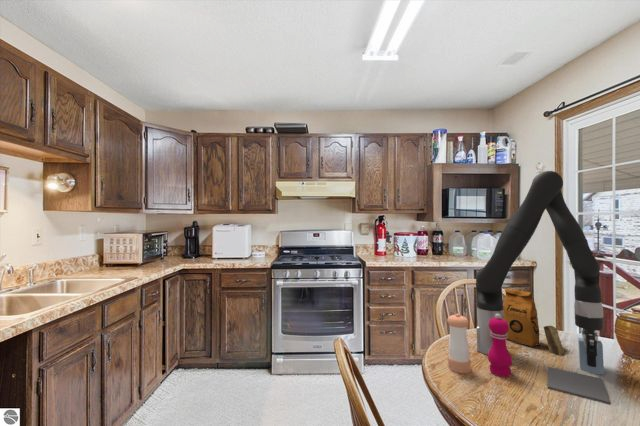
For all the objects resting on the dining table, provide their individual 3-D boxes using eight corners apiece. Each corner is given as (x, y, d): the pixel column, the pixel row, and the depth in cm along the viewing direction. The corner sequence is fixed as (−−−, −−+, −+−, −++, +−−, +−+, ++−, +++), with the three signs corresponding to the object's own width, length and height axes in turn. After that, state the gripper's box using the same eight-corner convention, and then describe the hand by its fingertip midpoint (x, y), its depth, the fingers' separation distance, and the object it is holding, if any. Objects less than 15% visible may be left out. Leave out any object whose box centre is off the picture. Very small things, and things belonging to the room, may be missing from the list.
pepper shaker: (470, 365, 108) (468, 312, 109) (471, 375, 102) (469, 318, 102) (448, 362, 111) (446, 310, 112) (447, 370, 105) (446, 315, 105)
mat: (547, 388, 93) (547, 386, 93) (547, 368, 105) (547, 366, 105) (609, 404, 84) (609, 402, 84) (602, 380, 97) (602, 378, 97)
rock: (549, 336, 128) (532, 336, 125) (563, 324, 124) (545, 323, 121) (571, 361, 119) (552, 361, 117) (586, 348, 115) (568, 348, 112)
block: (580, 369, 104) (579, 340, 104) (579, 365, 107) (578, 337, 107) (604, 374, 100) (602, 344, 101) (602, 370, 103) (600, 340, 104)
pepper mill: (509, 369, 105) (507, 311, 106) (515, 379, 98) (512, 317, 99) (486, 366, 108) (484, 310, 108) (490, 375, 101) (488, 315, 102)
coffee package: (531, 349, 121) (529, 294, 122) (500, 339, 132) (498, 289, 133) (544, 344, 126) (542, 291, 127) (513, 335, 137) (511, 286, 138)
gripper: (573, 307, 112) (575, 353, 112) (575, 316, 101) (578, 368, 100) (600, 310, 108) (603, 359, 107) (606, 321, 96) (609, 375, 96)
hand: (591, 363), depth 104 cm, fingers closed on block, 4 cm apart
